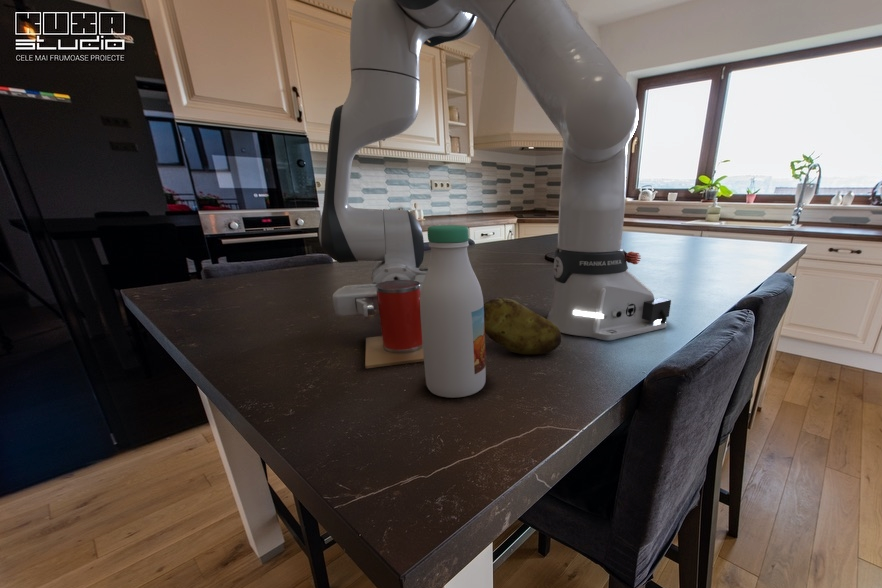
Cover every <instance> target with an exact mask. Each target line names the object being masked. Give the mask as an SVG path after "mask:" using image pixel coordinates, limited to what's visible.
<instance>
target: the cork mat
mask: <svg viewBox="0 0 882 588" xmlns="http://www.w3.org/2000/svg"><path fill="white" fill-rule="evenodd" d="M364 358H365V362H364V367H365V369H366V370H367V369H373V368H381V367H391V366H397V365H406V364H413V363H420V362H424V355H423V348H422V349H420V350H417V351H414V352H410V353H390V352H387V351H385V350H384V349H383V340H382V335H379V336H369V337H366V338H365V357H364Z"/></svg>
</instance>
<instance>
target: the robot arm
mask: <svg viewBox="0 0 882 588" xmlns="http://www.w3.org/2000/svg"><path fill="white" fill-rule="evenodd" d="M351 11H352V12H351V20H350V35H349V63H350V65H349V66H350V87H349V91H348V94H347V97H346V99H345V100H344V102H343V104H341V105H339V106H337V107H335V109H333V113H332V116H331V121H330V125H329V126H330V127H329V134H328V145H327V154H326V155H327V156H326V168H325V181H324V193H323V194H324V195H323V203H322V204H323V206H322V212H321V215H320V220H319V224H318V240H319V245H320V247H321V250H322V251H323V252H324V253H325V254H326V255H327V256H328V257H330V258H331V259H332V260H334V261H335V262H337V263H339V264H343V263H344V264H345V263H358V262H376V263H375V265H374V267H373V269H372V271H371V277H370V278H371V279H370V281H371V283H363V284H351V285H350V284H349V285H344V286H343V285H342V286H341V287H339V288H337V289H336V290H335V291H334V292H333V294H332V306H333V310H334V315H336V316H339V317H353V316H364V318H374V317H376V315H377V314H379V307H378V299H377V291H376V285H377V284H378V283H381V282H385V281H392V280H413V281H418V282H419V283H420V293H421V288H422V284H423V281H424V279H425V276H426V273H427V271H428V268H426V267H425V268H422V267H421V266H422V264H423V262H424V256H425V242H424V241H425V240H424V233H423V230H422V226H421V224H420V222H419V220H418V219H417V218H416V216H415V215H414V214H413V213H412V212H411V211H409V210H405V209H393V208H390V209H389V208H388V209H387V208H383V209H380V208H379V209H378V208H358V207H353V206H352V205H350V203H349V196H350V195H349V194H350V186H351V185H350V184H351V174H352V173H351V172H352V165H353V161H354V157H355V156H356V154H357V153H358V152H359V151H361V150H362V149H363V148H365V147H367V146H369V145H372V144H375V143H378V142H381V141H385V140H387V139H391V138H393V137H396V136H399V135H401V134H403V133H404V132H405V131H407V130H408V129H409V128H411V126H412V125H413V124H414V123H415V121H416V119H417V118H418V115H419V108H420V96H421V94H420V93H421V84H420V83H421V82H420V81H421V78H420V55H421V50H422V47H423V45H426V46H427V47H431V48H433V47H437V46H439V45H441V44H444V43H449V42H455V41H457V40H461V39H462V38H464V37H465V36H467V35H468V34H470V32H472V30H473V28H474V27H475V24H476V23H477V19H479V21H480V22H481V23H482V24H483V25H484V27H485V28H486V30H487V31H488V33H489V34H490V36H491V37H492V39H493V40H494V42H495V43H496V45H497V46H498V48H499V49H500V51H501V52H502V53H503V55H504V57H505V58H506V59H507V61H508V62H509V64H510V65H511V67H512V68H513V69H514V71H515V73H516V74H517V75H518V77H519V79H520V80H521V81H522V83H523V85H524V87H526V89H527V90H528V91H529V93H530V94H531V95H532V96H533V98H534V99H535V101H536V102H537V103H538V105H539V107H540V108H541V109H542V111H543V112H544V114H545V115H546V116H547V118H548V119H549V121H550V122H551V123H552V125H553V126H554V127H555V129H556V130H557V132H558V133H559V135H560V136H561V138H562V157H561V159H562V160H561V173H560V189H559V200H558V201H559V203H558V225H557V226H558V228H557V247H555V249H554V260H553V278H554V286H553V292H552V298H551V302H550V307H549V311H548V315H547V316H546V319H547V320H549V321H550V322H552V323H553V324H555V325H556V326H557V327H558V328H559V330H560V333H561V334H566V335H570V336H571V335H572V336H578V337H588V338H593V339H598V340H601V341H615V340H619V339H622V338H627V337H632V336H636V335H640V334H645V333H649V332H654V331H658V330H662V329H665V328H667V320H668V319H667V318H669V316H670V311H671V304H672V300H671V299H667V298H664V297H660V298H655V296H654V293H653V291H652V290H651V289H650V288H649V287H648V286H646V285H645V283H643V282H642V281H641V280H639V278H637V277H636V276H635V275H634V274H633V273H631V271H630V270H629V267H628V264H632V265H638V264H639V262H641V258H642V255H641V254H640V253H639V252H634V251H628V252H627V251H626V250H624V249H622V242H623V241H622V240H623V232H624V231H623V230H624V222H625V211H626V200H627V199H626V183H627V182H626V180H627V178H626V177H627V157H628V156H627V155H628V144H629V142H630V141H631V139H632V138H633V135H634V133H635V131H636V129H637V126H638V121H639V104H638V100H637V97H636V94H635V93H636V92H634V91H635V90H634V89H633V87H632V86H631V85H630V83H629V82H628V81H627V80H626V79H625V78H624V77H623V75H622V74H621V73H620V72H619V70H618V68H616V66H615V65H614V63H613V62H612V61H611V60H610V58H609V57H608V56H607V54H606V53H605V52H604V51H603V50H602V49H601V47H600V46H599V45H598V44H597V42H595V40H593V38H592V37H591V36H590V35H589V34H588V32H587V30H585V28H584V27H583V25H582V24H581V22H580V20H579V19H578V17H577V16H576V15H575V13H574V11H573V10H572V8H571V7H570V5H569V4H568V2H567V0H355V1H354V2H353V6H352V10H351Z"/></svg>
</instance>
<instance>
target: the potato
mask: <svg viewBox="0 0 882 588" xmlns="http://www.w3.org/2000/svg"><path fill="white" fill-rule="evenodd" d="M483 305H484V325H485V335H487V337H488V338H489V339H490V340H492V341H493V342H495V343H497V344H499V345H501V347H503V348H504V349H506V350H507V351H509V352H511V353H515V354H517V355H518V354H519V355H523V356H531V355H532V356H533V355H536V356H537V355H543V354H547V353H551V352H553V351H555V350H556V349H557V348H558V347H559V346H560V345H561V343H562V332H560V330H559V328H558V327H557V326H556V325H555V324H553V323H552V322H550V321H549V320H547V318H546V317H544V316H542V315H540V314H538V313H536V312H534V311H533V310H532V309H530V308H528V307H526V306H524V305H523V304H522V303H519V302H518V301H517V300H514V299H511V298H506V297H505V298H504V297H497V298H492V299H490V300H488V301H486V302H485V303H483Z"/></svg>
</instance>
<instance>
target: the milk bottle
mask: <svg viewBox="0 0 882 588" xmlns="http://www.w3.org/2000/svg"><path fill="white" fill-rule="evenodd" d="M427 240H428V245H427V246H428V247H429V248H430V260H429V263H428V267H427V269H428V271H427V273H426V276H425V279H424V281H423V284H422V288H421V294H420V315H421V329H422V343H423V355H424V361H423V362H424V363H423V365H424V374H425V375H424V376H425V377H424V379H425V386H426V387H427V389H428V390H429V392H430V393H432V394H433V395H436V396H438V397H443V398H451V399H454V398H463V397H468V396H472V395H475V394H476V393H478V392H479V391H481V390H482V389H483V388H484V387H485V385H486V380H487V377H486V376H487V371H486V370H487V369H486V368H487V364H486V363H487V362H486V361H487V360H486V333H485V325H484V305H483V304H484V296H483V292H482V288H481V284H480V282H479V280H478V278H477V275H476V273H475V271H474V269H473V266H472V265H471V264H472V263H471V261H470V258H469V254H468V247H470V244H469V240H470V232H469V227H468V226H465V225H458V224H441V225H431V226H428V227H427Z"/></svg>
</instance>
